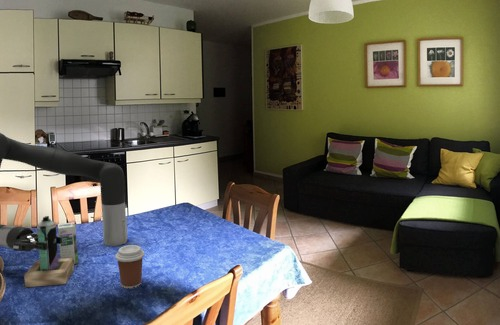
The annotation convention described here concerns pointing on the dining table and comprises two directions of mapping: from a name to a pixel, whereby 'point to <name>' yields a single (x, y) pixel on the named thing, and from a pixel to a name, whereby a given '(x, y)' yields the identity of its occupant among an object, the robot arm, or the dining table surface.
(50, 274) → the collar
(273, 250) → the dining table surface
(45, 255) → the spray can
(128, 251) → the coffee cup
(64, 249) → the syrup box
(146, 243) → the dining table surface
